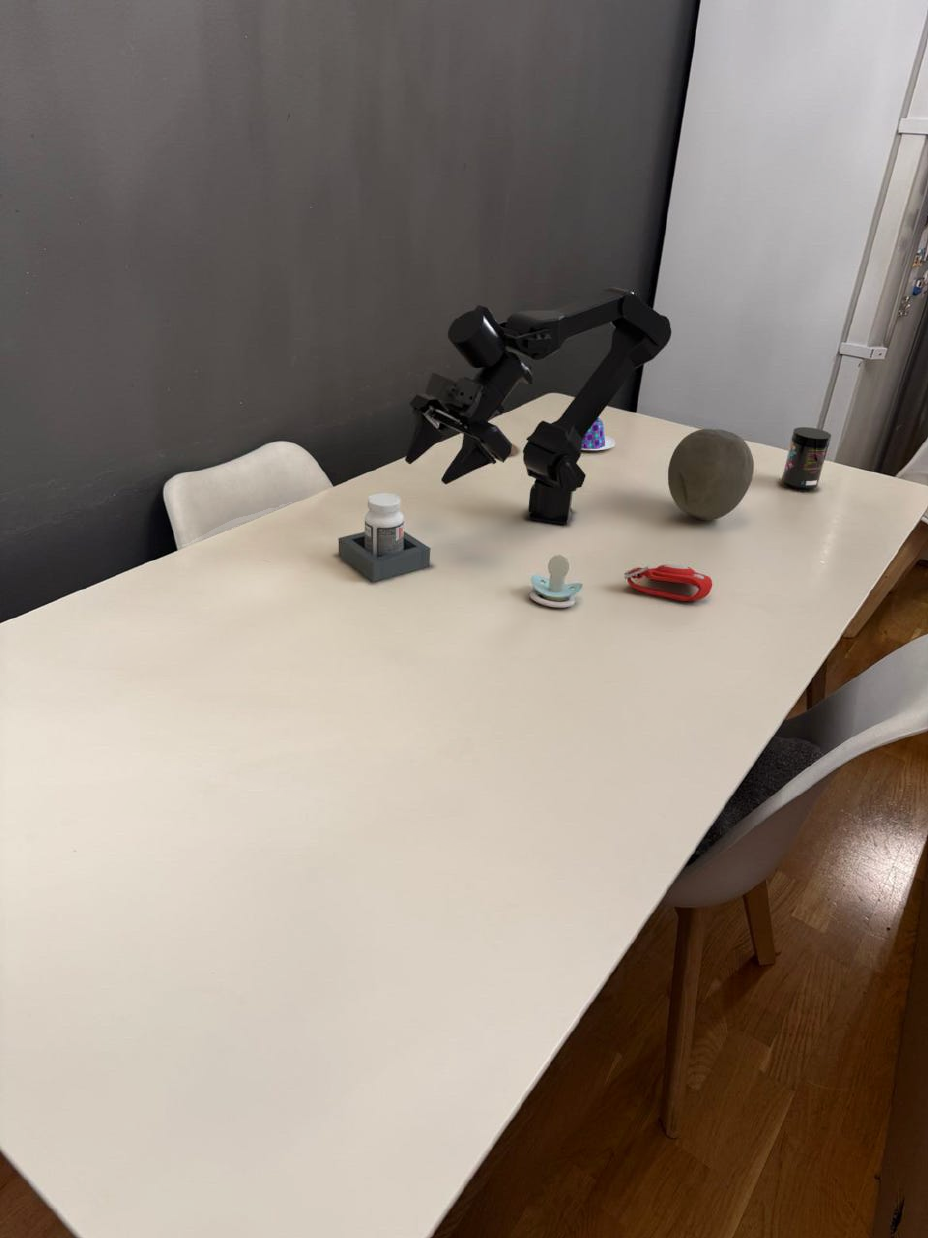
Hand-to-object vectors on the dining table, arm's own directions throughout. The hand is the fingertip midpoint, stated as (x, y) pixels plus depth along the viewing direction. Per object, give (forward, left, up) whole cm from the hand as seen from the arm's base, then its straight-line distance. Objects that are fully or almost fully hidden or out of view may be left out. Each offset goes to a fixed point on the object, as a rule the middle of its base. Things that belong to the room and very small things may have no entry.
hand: (424, 472), depth 129 cm
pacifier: (-22, +8, -13) cm, 27 cm away
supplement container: (-60, -53, -13) cm, 81 cm away
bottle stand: (+4, +5, -13) cm, 15 cm away
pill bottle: (+4, +5, -13) cm, 15 cm away
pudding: (-18, -61, -13) cm, 64 cm away
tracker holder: (-37, -1, -13) cm, 39 cm away
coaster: (-1, -50, -13) cm, 51 cm away
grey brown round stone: (-42, -31, -13) cm, 53 cm away
